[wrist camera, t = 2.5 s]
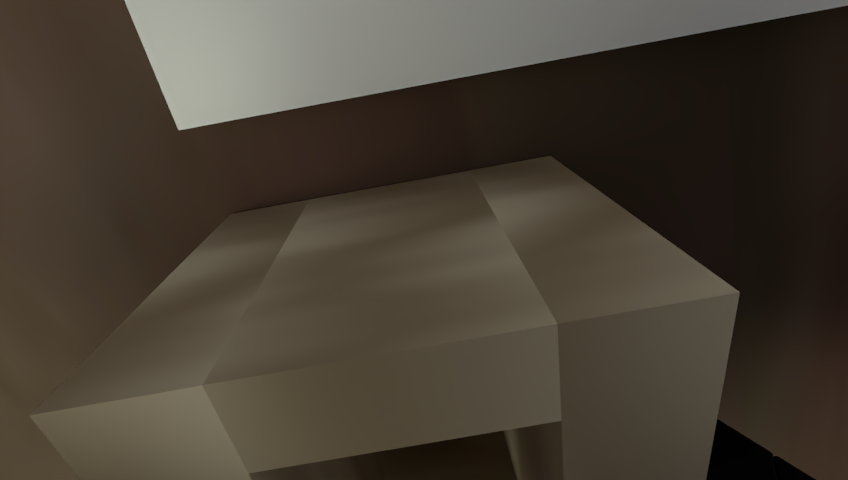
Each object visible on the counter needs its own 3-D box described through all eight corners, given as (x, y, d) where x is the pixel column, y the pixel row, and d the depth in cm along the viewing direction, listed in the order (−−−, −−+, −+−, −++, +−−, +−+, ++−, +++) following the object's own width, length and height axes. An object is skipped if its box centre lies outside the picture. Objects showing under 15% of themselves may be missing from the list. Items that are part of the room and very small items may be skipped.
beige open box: (550, 155, 8) (739, 293, 4) (562, 448, 12) (666, 702, 7) (230, 213, 8) (28, 415, 4) (338, 485, 12) (301, 757, 7)
